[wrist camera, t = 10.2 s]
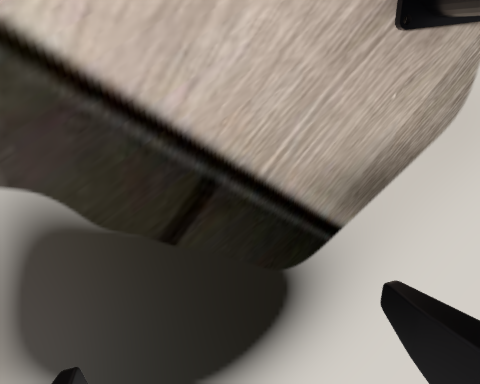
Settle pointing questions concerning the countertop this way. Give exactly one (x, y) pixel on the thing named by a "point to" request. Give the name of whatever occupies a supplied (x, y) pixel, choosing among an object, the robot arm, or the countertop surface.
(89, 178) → the countertop surface
